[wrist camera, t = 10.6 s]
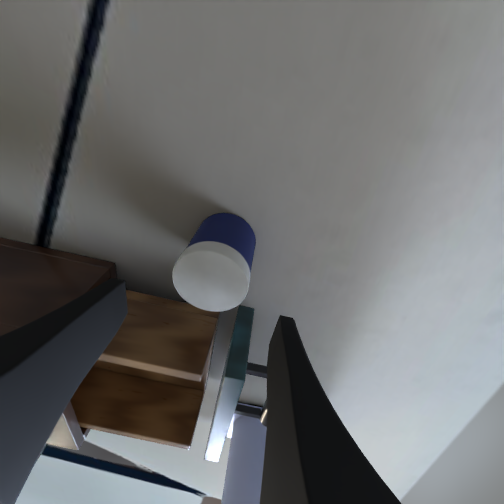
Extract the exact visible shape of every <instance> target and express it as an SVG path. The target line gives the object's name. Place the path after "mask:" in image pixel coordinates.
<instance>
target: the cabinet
mask: <svg viewBox="0 0 504 504" xmlns="http://www.w3.org/2000/svg"><path fill="white" fill-rule="evenodd" d="M111 278H115V279H117V276H116V268H115V263H112V262H108V261H103V260H99V259H94V258H90V257H85V256H81V255H76V254H72V253H67V252H63V251H58V250H54V249H49V248H45V247H40V246H36V245H31V244H27V243H22V242H18V241H13V240H9V239H4V238H0V336H2V335H4V334H6V333H8V332H11V331H13V330H15V329H18V328H20V327H22V326H24V325H26V324H28V323H30V322H32V321H35V320H36V319H38V318H40V317H42V316H44V315H46V314H48V313H50V312H52V311H54V310H56V309H58V308H60V307H62V306H63V305H65V304H67V303H69V302H71V301H72V300H74V299H76V298H78V297H79V296H81V295H83V294H85V293H86V292H88V291H90V290H92V289H93V288H95V287H97V286H98V285H100V284H102V283H104V282H105V281H107V280H109V279H111ZM89 431H90V429H89V428H84V427H80V425H79V423H78V420H77V417H76V415H75V412H74V409H73V407H72V404H71V401H70V402H69V403H68V405H67V407H66V408H65V410H64V412H63V413H62V415H61V417H60V419H59V420H58V422H57V424H56V426H55V427H54V429H53V431H52V433H51V435H50V436H49V438H48V440H47V442H46V444H50V445H55V446H59V447H65V448H69V449H74V450H79V448H80V447H81V445H82V443H83V441H84V440H85V438H86V436H87V435H88V433H89Z"/></svg>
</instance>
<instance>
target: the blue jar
mask: <svg viewBox="0 0 504 504" xmlns="http://www.w3.org/2000/svg"><path fill="white" fill-rule="evenodd" d="M255 244H256V239H255V234H254V232H253V230H252V228H251V226H250V225H249V224H248V223H247V222H246V221H245V220H243V219H242V218H240V217H239V216H236V215H234V214H229V213H218V214H214V215H211V216H210V217H208V218H206V219H205V220H204V221H203V222H202V224H201V225H200V227H199V228H198V230H197V232H196V233H195V235H194V236H193V238H192V240H191V241H190V243H189V245H188V246H187V248H186V249H185V250H184V251H183V253H182V254H181V256H180V257H179V259H178V260H177V262H176V263H175V265H174V268H173V272H172V280H173V284H174V287H175V289H176V290H177V292H178V293H179V295H180V296H181V297H182V298H183V299H184V300H185V301H187V302H188V303H190V304H191V305H193V306H195V307H197V308H200V309H203V310H207V311H215V312H217V311H226V310H230V309H232V308H234V307H236V306H238V305H239V304H240V303H241V302H242V301H243V300H244V299H245V297H246V295H247V293H248V288H249V282H250V272H251V266H252V261H253V255H254V250H255Z"/></svg>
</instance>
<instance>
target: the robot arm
mask: <svg viewBox="0 0 504 504" xmlns="http://www.w3.org/2000/svg"><path fill="white" fill-rule="evenodd" d="M127 313H128V307H127V296H126V285H125V281H124V280H119V279H115V278H111V279H109V280H107V281H105V282H104V283H102V284H100V285H98V286H97V287H95V288H93V289H92V290H90V291H88V292H86V293H85V294H83V295H81V296H79V297H78V298H76V299H74V300H72V301H71V302H69V303H67V304H65V305H63V306H62V307H60V308H58V309H56V310H54V311H52V312H50V313H48V314H46V315H44V316H42V317H40V318H38V319H36V320H35V321H32V322H30V323H28V324H26V325H24V326H22V327H20V328H18V329H15V330H13V331H11V332H8V333H6V334H4V335H2V336H0V504H15V502H16V500H17V498H18V496H19V494H20V492H21V490H22V488H23V486H24V484H25V482H26V480H27V478H28V476H29V474H30V472H31V470H32V468H33V466H34V464H35V462H36V461H37V459H38V457H39V455H40V453H41V451H42V449H43V447H44V446H45V444H46V442H47V440H48V438H49V436H50V435H51V433H52V431H53V429H54V427H55V426H56V424H57V422H58V420H59V419H60V417H61V415H62V413H63V412H64V410H65V408H66V407H67V405H68V403H69V402H70V400H71V398H72V396H73V395H74V393H75V391H76V390H77V388H78V387H79V385H80V384H81V382H82V381H83V379H84V378H85V376H86V375H87V374H88V372H89V371H90V369H91V368H92V367H93V365H94V364H95V363H96V361H97V360H98V358H99V357H100V356H101V354H102V353H103V351H104V350H105V349H106V347H107V346H108V345H109V343H110V342H111V340H112V339H113V338H114V336H115V335H116V333H117V332H118V330H119V328H120V326H121V325H122V323H123V321H124V319H125V317H126V315H127ZM237 404H242V405H246V406H251V407H256V408H260V409H261V410H262V408H261V407H257V406H252V405H247V404H243V403H237ZM227 437H229V438H231V443H230V450H229V456H228V463H227V470H226V476H225V483H224V489H223V496H222V504H401V502H400V501H399V500H398V499H397V497H396V496H395V495H394V494H393V492H392V491H391V490H390V489H389V487H388V486H387V485H386V484H385V482H384V481H383V480H382V479H381V477H380V476H379V475H378V474H377V472H376V471H375V469H374V468H373V467H372V465H371V464H370V463H369V461H368V460H367V459H366V457H365V456H364V454H363V453H362V452H361V450H360V449H359V447H358V446H357V444H356V443H355V441H354V440H353V438H352V437H351V435H350V434H349V432H348V431H347V429H346V428H345V426H344V425H343V423H342V421H341V420H340V418H339V416H338V415H337V413H336V412H335V410H334V408H333V406H332V405H331V403H330V401H329V399H328V398H327V396H326V394H325V392H324V390H323V388H322V386H321V384H320V382H319V380H318V378H317V376H316V374H315V372H314V370H313V368H312V365H311V363H310V361H309V358H308V356H307V354H306V351H305V349H304V346H303V344H302V341H301V338H300V336H299V333H298V330H297V327H296V324H295V321H294V319H293V318H290V317H285V316H281V315H280V316H279V319H278V322H277V325H276V327H275V330H274V333H273V335H272V338H271V341H270V343H269V352H268V361H267V427H266V426H264V425H263V424H262V423H261V422H260V419H258V418H253V417H248V416H244V415H239V414H234V415H233V418H232V421H231V424H230V427H229V430H228V433H227Z"/></svg>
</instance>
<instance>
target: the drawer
mask: <svg viewBox="0 0 504 504" xmlns="http://www.w3.org/2000/svg"><path fill="white" fill-rule="evenodd" d="M126 296H127V307H128V313H127V315H126V317H125V319H124V321H123V323H122V325H121V326H120V328H119V330H118V332H117V333H116V335H115V336H114V338H113V339H112V340H111V342H110V343H109V345H108V346H107V347H106V349H105V350H104V351H103V353H102V354H101V356H100V357H99V358H98V360H97V361H96V363H95V364H94V365H93V367H92V368H91V369H90V371H89V372H88V374H87V375H86V376H85V378H84V379H83V381H82V382H81V384H80V385H79V387H78V388H77V390H76V391H75V393H74V395H73V396H72V398H71V400H70V401H71V404H72V407H73V409H74V412H75V415H76V417H77V420H78V423H79V425H80V427H84V428H89V429H93V430H98V431H103V432H108V433H112V434H117V435H122V436H127V437H132V438H136V439H141V440H146V441H151V442H155V443H160V444H165V445H170V446H175V447H179V448H184V449H190V447H191V443H192V439H193V435H194V432H195V428H196V424H197V420H198V416H199V412H200V409H201V405H202V401H203V397H204V393H205V390H206V385H207V380H208V374H209V369H210V363H211V358H212V353H213V347H214V342H215V337H216V331H217V326H218V320H219V315H220V311H217V312H215V311H207V310H203V309H200V308H197V307H195V306H193V305H191V304H188V303H184V302H179V301H175V300H170V299H166V298H161V297H157V296H152V295H148V294H143V293H139V292H134V291H129V290H126ZM253 315H254V308H250V307H246V306H241V305H239V308H238V312H237V316H236V320H235V324H234V329H233V333H232V337H231V341H230V345H229V349H228V354H227V358H226V362H225V366H224V370H223V375H222V379H221V383H220V387H219V391H218V396H217V401H216V405H215V410H214V415H213V419H212V424H211V428H210V433H209V438H208V442H207V447H206V452H205V456H204V459H205V460H209V461H214V462H218V460H219V457H220V454H221V451H222V448H223V445H224V442H225V439H226V436H227V433H228V430H229V427H230V424H231V421H232V418H233V415H234V414H239V415H244V416H248V417H253V418H258V419H260V422H261V423H262V424H263V425H264V426H266V427H267V399H266V401H265V403H264V406H263V408H262V410H261V409H260V408H256V407H251V406H246V405H242V404H237V403H238V400H239V397H240V394H241V391H242V388H243V385H244V382H245V376H246V374H250V375H254V376H259V377H263V378H267V366H262V365H258V364H253V363H249V362H247V361H248V353H249V346H250V338H251V331H252V323H253Z"/></svg>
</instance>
